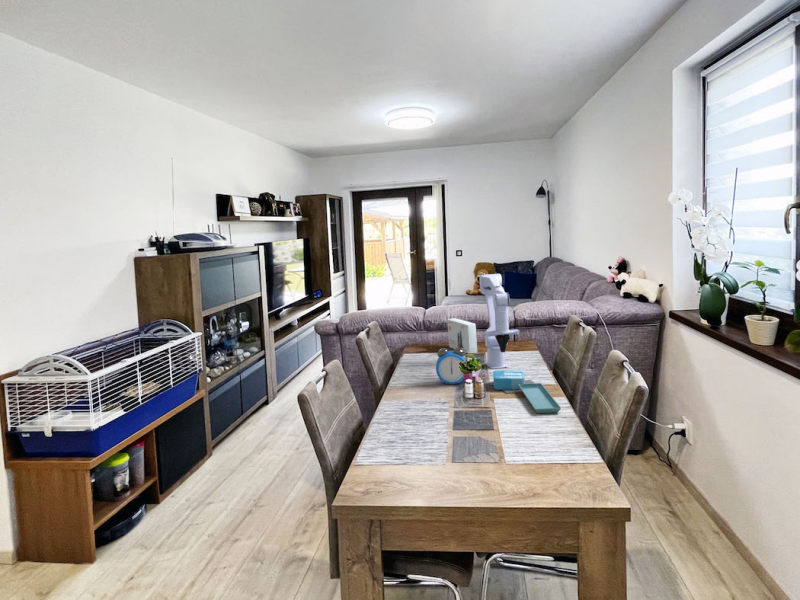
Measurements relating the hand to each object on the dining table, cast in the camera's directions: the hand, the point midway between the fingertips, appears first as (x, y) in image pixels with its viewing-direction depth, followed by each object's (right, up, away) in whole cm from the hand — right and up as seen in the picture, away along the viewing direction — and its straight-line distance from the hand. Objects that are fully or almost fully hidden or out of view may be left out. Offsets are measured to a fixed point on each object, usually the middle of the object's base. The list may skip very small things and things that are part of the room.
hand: (502, 351), depth 225 cm
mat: (+3, -13, -16) cm, 21 cm away
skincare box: (-11, -5, +51) cm, 52 cm away
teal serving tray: (+6, -15, -34) cm, 38 cm away
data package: (+1, -9, -8) cm, 12 cm away
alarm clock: (-23, -13, -5) cm, 26 cm away
